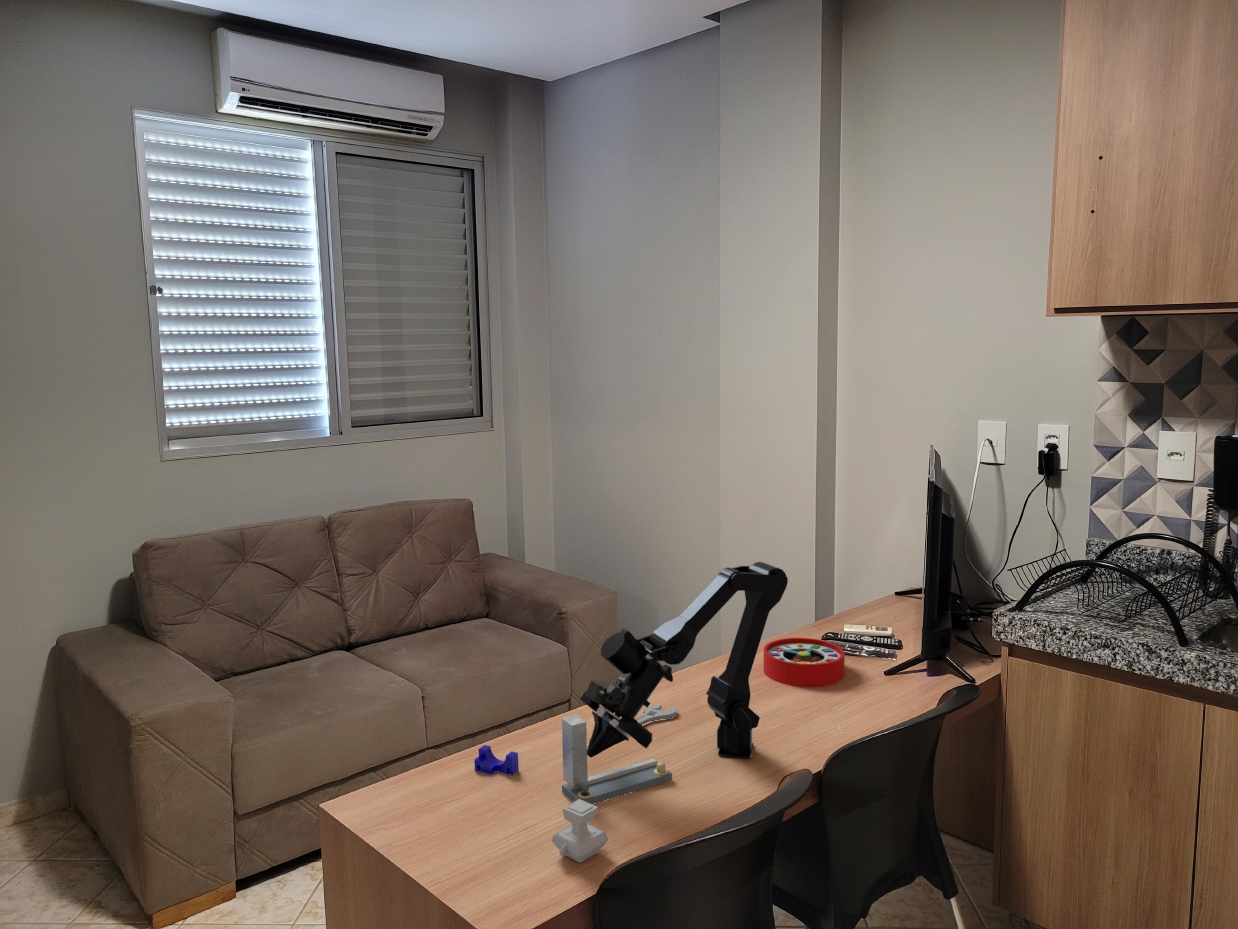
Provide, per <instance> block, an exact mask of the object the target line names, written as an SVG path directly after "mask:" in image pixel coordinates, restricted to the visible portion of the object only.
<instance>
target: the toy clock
mask: <svg viewBox="0 0 1238 929" xmlns="http://www.w3.org/2000/svg"><path fill="white" fill-rule="evenodd" d="M763 673H764V675H765V676H766V677H767V678H769V679H770V680H772V681H773V682H776V683H779V684H782V685H786V686H787V685H788V686H792V687H800V688H820V687H826V686H830V685H831V686H832V685H834V684H837V683H839V682H840V681H842V680H843V679H844V677H845V651H844V649H843V647H841V646H839V645H837V644H835V643H833V642H830V641H827V640H822V639H817V638H811V637H810V638H809V637H785V638H780V639H776V640H772V641H770V642H768V643H766V644H765V645H764V646H763Z"/></svg>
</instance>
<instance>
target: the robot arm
mask: <svg viewBox="0 0 1238 929" xmlns="http://www.w3.org/2000/svg"><path fill="white" fill-rule="evenodd" d="M788 583H789V581H788V576H787V574H786V572H785V571H784V570H783V569H782V568H780V567H776V566H774V565H771V564H769V563H765V562H763V561H757V562H754V563H753V564H751V565H739V566H734V567H729V566H728V567H724V568H722V569H720V570H719V572H718V574H717V576H716V577H715V578H714V580H712V581H711V583H710V584H708V586H706V588H704V590H703V591H701V593H700V594H699V595H698V596H697V597H696V598H695V599H694V600H693V601H692V602H691V604H689V606H688V607H686V609H685V610H684V611H683V612H681V614H679V615H678V616H677V617H675V618H673V619H671V620H668V621H666V622H664V623H663V624H661V625H660V626H659V627H658V628H656V629H655V630H654V631H653V632H652V633H651V634H649V635H646V636H643V637H640V638H635V636H634V634H632V633H631V632H630V631H629V630H628V629H626V628H624V627H623V628H621V630H620V631H619V632H616V633H614V634H612V635H611V636H609V637H607V638H606V640H604V642H603V644H602V646H601V649H600V656H601V657H602V658H603V659H604V660H605V661H606V662H608V663H609V664H610V665H612V667H614V669H616V670H617V671H619V673H620V674H623V675H627V676H625V678H624V680H623V681H622V680H620V679H618V680H616V681H615V682H614V684H612V683H607V682H603V681H599V680H597V679H590V681H589V683H588V686H587V690H586V691H584V693H583V694H582V696H581V697H580V701H581V702H582V703H584V704H585V705H586V706H587V707H589V709H592V711H591V715H593V721H594V726H593V730H592V734H591V737H590V738H591V740H590V743H589V745H587V757H589V758H594V757H595V756H597V755H599V754H601V753H603V752H604V751H606V750H608V749H610V748H612V747H614V746H615V745H617V744H620V743H622V742H624V741H628V742H629V740H630V738H629V737H628V736H630V737H631V738H632V739H633V740H635V741H636V742H637V743H638V744H639V745H640V746H642V747H643V748H644V749H648V747H649V746H650V745H651V744H652V742H653V733H652V732H651V731H649V730H648V729H647V728H646V727H645V726H642V725H641V724H640V723H639V722H638V721H637V720H636V719H635V718H636V716H637V715H638V714H639V712H640V710H642V708H643V706H644V707H645V708H648V707H650V706H651V702H650V701H649V700H648V699H649V698H650V697H651V696H652V694H653V692H654V691H655V689H656V688H657V687H658V685H659V684H660V682H661V681H662V680H663V679H664V680H666V681H668V682H670V683H673V681H674V677H673V673H672V672H673V668H672V667H671V666H674V665H680V664H682V663H683V661H685V660H686V658H687V657H688V655H690V652H691V651H692V649H693V648H694V647H695V643H696V640H697V636H698V635H699V633H700V632H701V631H702V629H704V627H705V626H706V625H707V624H708V623H709V622H710V621H711V620H712V619H713V618H714V617H715V615H717V614H718V613H719V611H720V610H721V609H722V608H724V606H725V605H726V604H727V603H728V602H729V601H730V600H731V599H732V598H733V596H734V595H735V594H736V593H737V592H738V591H739V592H740V591H742V592H744V597H745V606H744V609H743V612H742V616H741V619H740V623H739V625H738V629H737V631H736V635H735V638H734V642H733V645H732V647H731V651H730V654H729V658H728V661H727V664H726V667H725V669H724V671H723V672H722V673H721V674H720V675H719V676H716V675H712V677H711V679H710V683H709V688H708V690H707V691H706V693H705V694H706V695H707V698H706V699H707V704H708V707H709V708H710V710H712V712H714V716H715V717H716V718H719V719H720V722H719V725H718V727H717V729H716V748H717V749H718V752H717V753H718V754H717V755H718V756H721V757H731V758H739V759H740V758H741V759H750V758H751V757H752V753H753V749H754V743H753V729H756V728H757V727H758V725H759V721H760V716H759V715H758V714H756V712H754V711H753V710H752V709H751V708H750V702H751V689H750V688H751V687H750V675H751V672H752V669H753V665H754V661H755V659H756V656H757V652H758V649H759V646H760V642H761V640H762V637H763V634H764V629H765V627H766V623H767V621H768V617H769V615H770V614H769V613H770V612H771V610H772V609H773V608H775V607H776V605H777V604H778V603H779V602H780V601H781V599H783V595H784V593H785V591H786V588H787V587H788ZM647 656H650V658H647ZM661 662H664V663H666V664H662V663H661ZM667 664H668V665H667Z"/></svg>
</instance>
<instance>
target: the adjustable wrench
mask: <svg viewBox="0 0 1238 929" xmlns="http://www.w3.org/2000/svg"><path fill="white" fill-rule="evenodd" d="M661 708H662V704H660V703H658V704H652V705H649V706H648V708H647V707H644V710H643V711H642V715H640V716H637V717H635V718H634V719H636V720H637V721H638V722H639V723H640V724H641V725H642V724H645V723H647V722H649V721H655V720H660V719H668V718H672V717H675V716H676V717H677V707H676V706H672V707H671V708H670V709H669V710H668V709H667V710H663V708H662V710H660V709H661ZM643 713H644V714H643ZM676 717H675V718H676ZM590 740H591V737H590V738H588V739H587V744H588V743H590Z"/></svg>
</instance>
